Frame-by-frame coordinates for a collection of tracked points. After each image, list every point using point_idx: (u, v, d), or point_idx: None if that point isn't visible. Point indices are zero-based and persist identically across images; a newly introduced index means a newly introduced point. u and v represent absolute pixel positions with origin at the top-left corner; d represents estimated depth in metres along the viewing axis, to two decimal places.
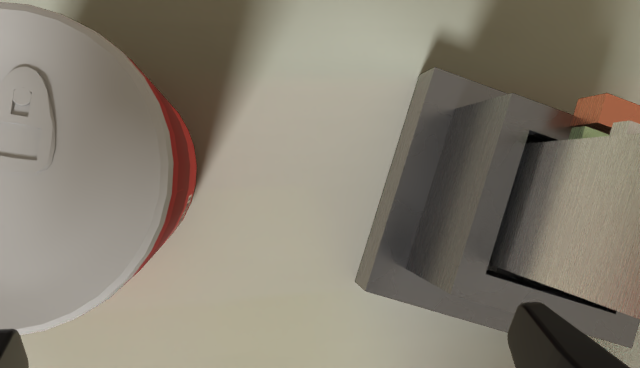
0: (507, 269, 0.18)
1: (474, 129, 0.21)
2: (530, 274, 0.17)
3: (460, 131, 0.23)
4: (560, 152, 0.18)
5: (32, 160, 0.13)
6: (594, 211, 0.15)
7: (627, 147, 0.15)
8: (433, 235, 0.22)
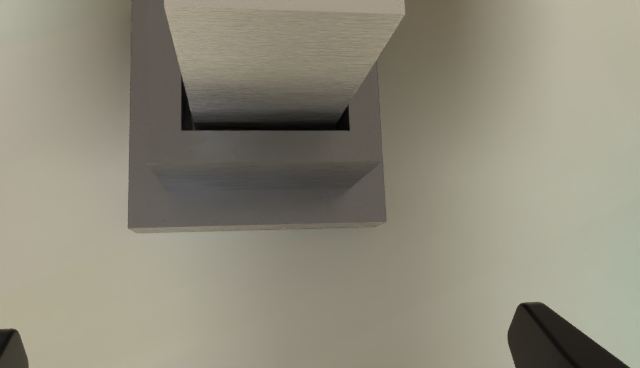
0: (191, 111, 0.16)
1: None
2: (187, 92, 0.15)
3: None
4: None
5: None
6: None
7: None
8: None
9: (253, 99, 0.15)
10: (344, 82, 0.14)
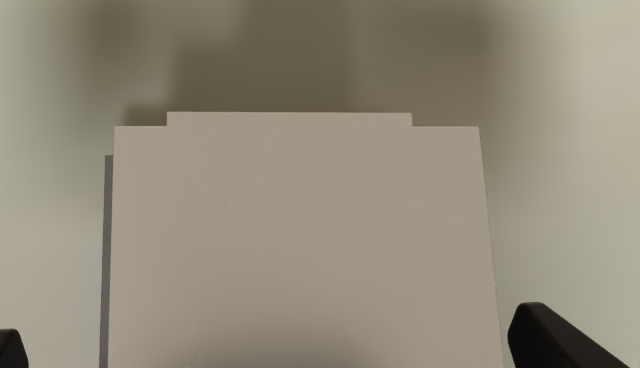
0: None
1: None
2: None
3: None
4: None
5: None
6: None
7: None
8: None
9: None
10: None
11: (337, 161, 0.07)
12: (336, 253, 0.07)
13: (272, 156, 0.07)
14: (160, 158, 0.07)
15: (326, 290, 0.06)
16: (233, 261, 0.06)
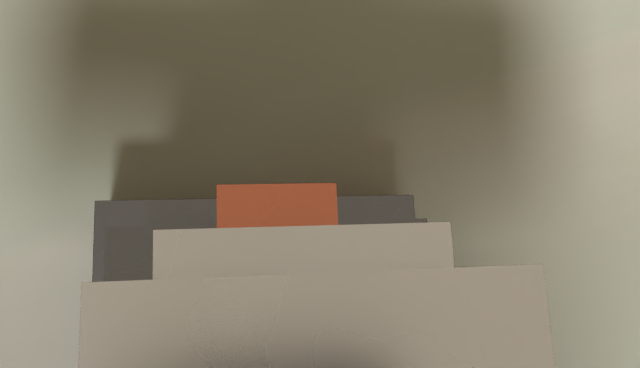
0: None
1: None
2: None
3: None
4: None
5: None
6: None
7: None
8: None
9: None
10: None
11: (367, 318, 0.05)
12: None
13: (285, 315, 0.05)
14: (141, 324, 0.05)
15: None
16: None
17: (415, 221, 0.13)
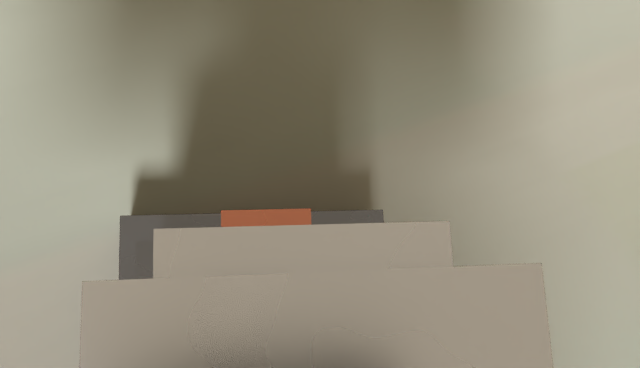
0: None
1: None
2: None
3: None
4: None
5: None
6: None
7: None
8: None
9: None
10: None
11: (367, 316, 0.05)
12: None
13: (284, 313, 0.05)
14: (141, 322, 0.05)
15: None
16: None
17: None
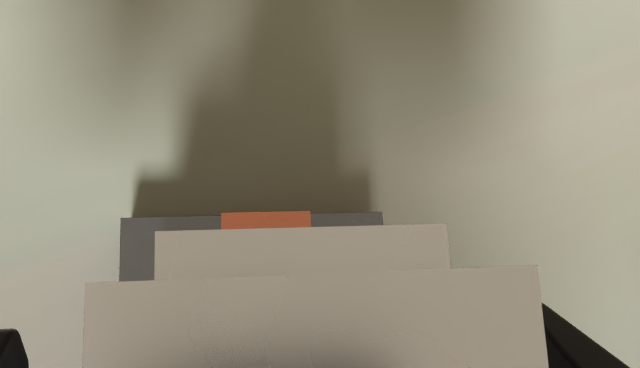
0: None
1: None
2: None
3: None
4: None
5: None
6: None
7: None
8: None
9: None
10: None
11: (364, 317, 0.05)
12: None
13: (284, 314, 0.05)
14: (143, 323, 0.05)
15: None
16: None
17: None
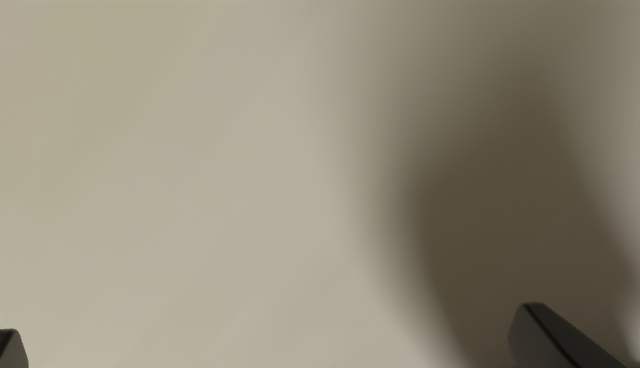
0: None
1: None
2: None
3: None
4: None
5: None
6: None
7: None
8: None
9: None
10: None
11: None
12: None
13: None
14: None
15: None
16: None
17: None
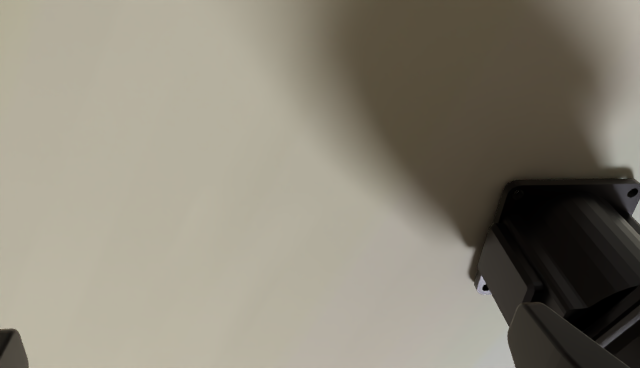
0: None
1: None
2: None
3: None
4: None
5: None
6: None
7: None
8: None
9: None
10: None
11: None
12: None
13: None
14: None
15: None
16: None
17: None
